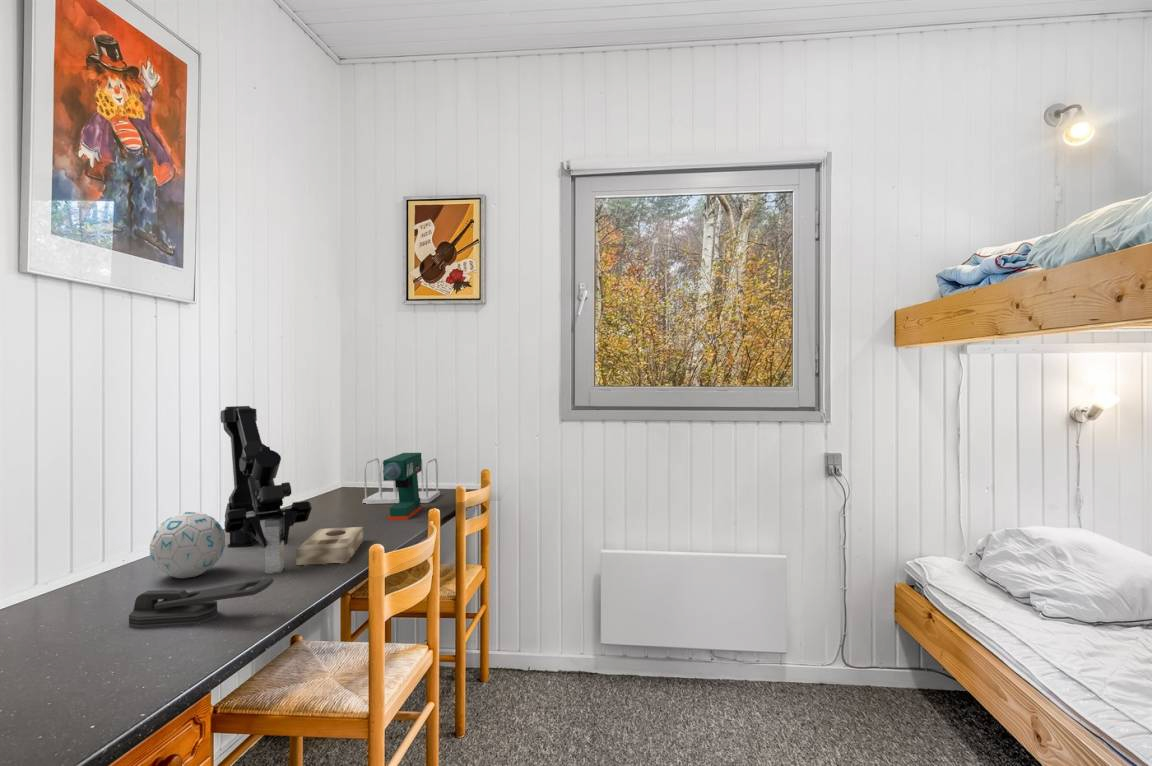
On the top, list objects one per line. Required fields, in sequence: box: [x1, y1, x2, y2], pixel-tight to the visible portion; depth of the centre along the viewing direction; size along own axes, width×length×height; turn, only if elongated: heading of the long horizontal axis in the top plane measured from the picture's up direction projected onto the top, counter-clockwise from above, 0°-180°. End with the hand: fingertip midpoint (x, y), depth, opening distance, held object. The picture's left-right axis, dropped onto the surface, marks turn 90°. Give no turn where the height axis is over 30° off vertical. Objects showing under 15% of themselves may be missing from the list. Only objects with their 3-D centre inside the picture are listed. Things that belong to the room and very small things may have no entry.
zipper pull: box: [128, 576, 274, 629], centre depth 120 cm, size 9×7×25 cm
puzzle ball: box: [149, 511, 226, 579], centre depth 146 cm, size 15×15×15 cm
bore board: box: [295, 526, 364, 565], centre depth 165 cm, size 12×22×4 cm, turn 9°
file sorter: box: [362, 457, 441, 505], centre depth 239 cm, size 25×17×16 cm
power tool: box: [382, 452, 423, 521], centre depth 206 cm, size 32×7×20 cm, turn 179°
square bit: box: [264, 518, 285, 574], centre depth 149 cm, size 3×3×12 cm
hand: (275, 544), depth 148 cm, fingers closed on square bit, 4 cm apart
